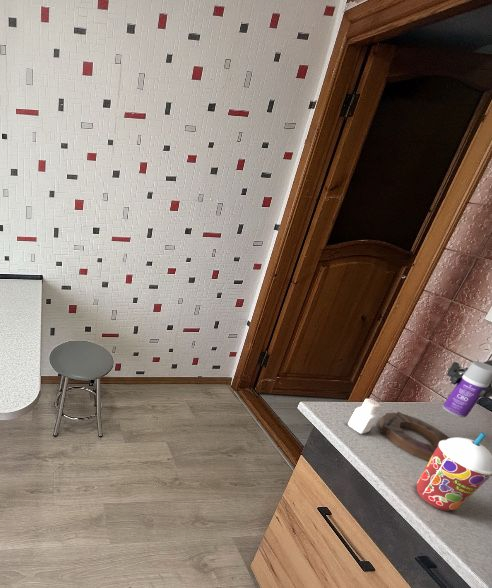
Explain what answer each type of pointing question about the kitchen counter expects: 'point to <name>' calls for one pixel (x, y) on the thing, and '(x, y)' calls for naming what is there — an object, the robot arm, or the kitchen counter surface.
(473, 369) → the container
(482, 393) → the robot arm
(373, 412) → the pepper shaker
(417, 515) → the kitchen counter surface
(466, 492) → the smoothie
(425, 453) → the collar
